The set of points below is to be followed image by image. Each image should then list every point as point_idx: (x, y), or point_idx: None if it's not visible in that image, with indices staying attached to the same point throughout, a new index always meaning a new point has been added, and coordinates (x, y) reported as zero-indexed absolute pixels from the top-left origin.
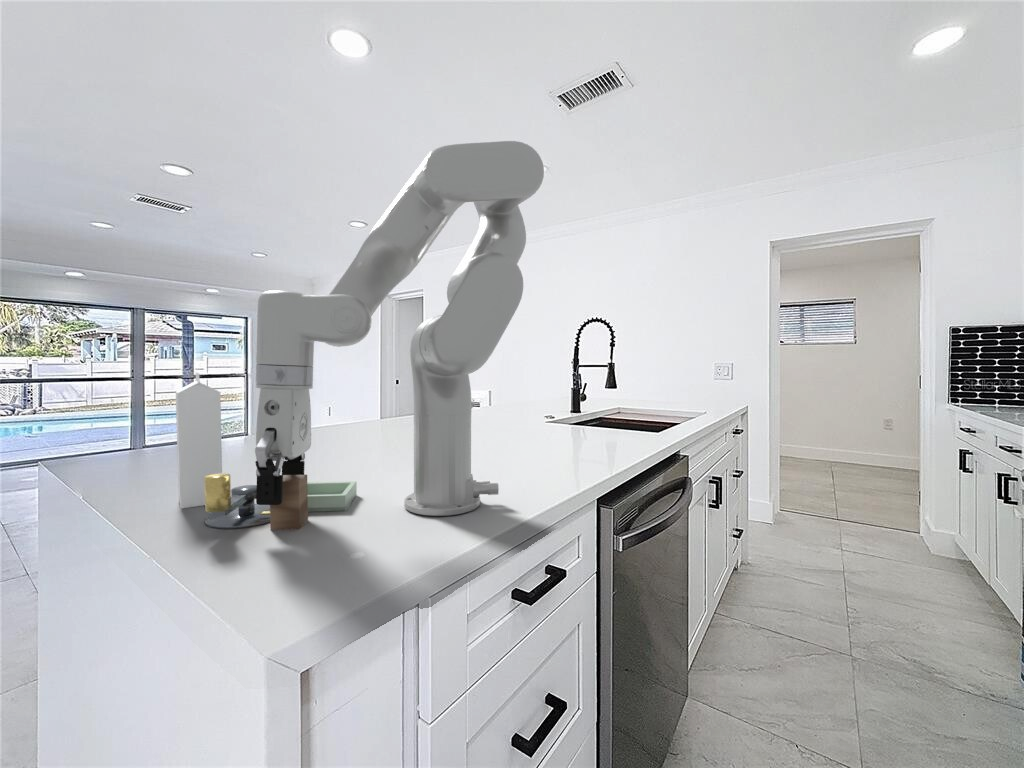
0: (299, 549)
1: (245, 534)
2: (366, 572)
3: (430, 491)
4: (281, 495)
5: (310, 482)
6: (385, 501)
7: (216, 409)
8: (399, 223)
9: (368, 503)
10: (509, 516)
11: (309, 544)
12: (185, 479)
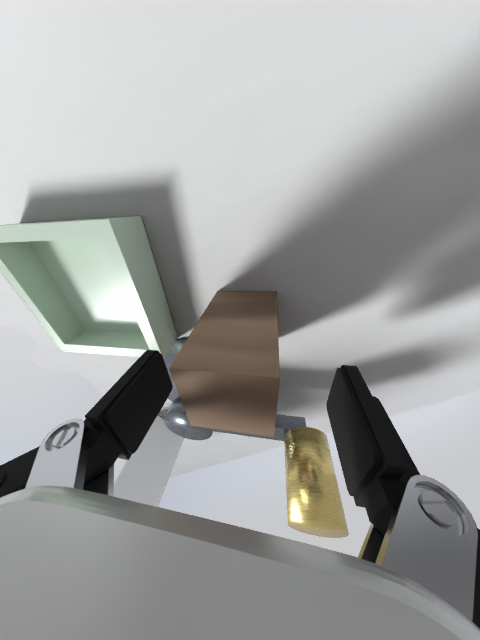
0: (431, 252)
1: (290, 366)
2: None
3: None
4: (363, 384)
5: (53, 340)
6: (5, 79)
7: None
8: None
9: (57, 155)
10: None
11: (402, 237)
12: (164, 475)
